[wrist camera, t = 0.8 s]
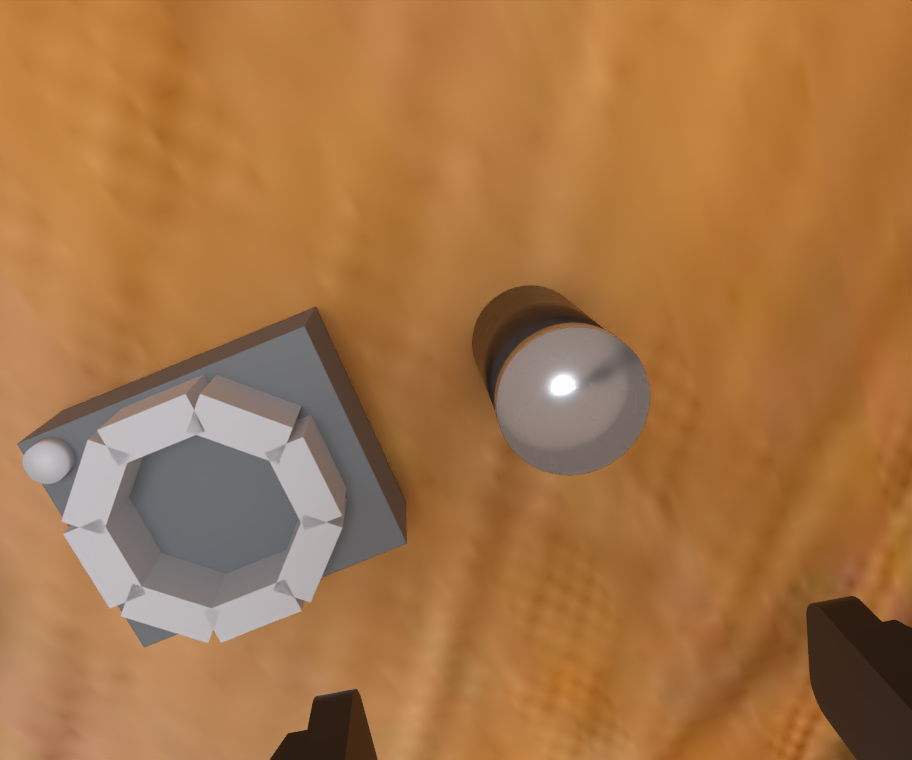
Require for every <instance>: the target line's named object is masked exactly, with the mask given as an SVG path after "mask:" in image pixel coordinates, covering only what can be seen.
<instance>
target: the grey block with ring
mask: <svg viewBox="0 0 912 760" xmlns="http://www.w3.org/2000/svg"><path fill="white" fill-rule="evenodd" d="M17 445H18V446H19V448H20V449H21V451H22V453H23V454H24V456H23V468H24V470H25V472H26V474H27V475H28V476H29V477H30V478H31V479H33V480H34V481H36V482H39V483H42V485H43V486H44V488H45V490H46V491H47V493H48V494H49V496H50V498H51V499H52V501H53V502H54V504H55V506H56V507H57V509H58V510H59V512H60V514H61V515H62V517H63V518H62V521H61V522H64V523H67V525H68V526H69V528H68V529H67V530H66V531H65V532H64V533H63V535H64V536H65V538H66V540H67V541H68V543H69V544H70V546H71V547H72V549H73V551H74V552H75V554H76V555H77V557H78V559H79V560H80V562H81V563H82V565H83V567H84V568H85V570H86V571H87V573H88V575H89V576H90V578H91V579H92V581H93V582H94V584H95V586H96V587H97V589H98V590H99V592H100V594H101V595H102V597H103V598H104V600H105V602H106V603H107V605H108V606H109V608H112V607H115V606H117V605H118V607H119V608H120V610H121V611H122V613H121V617H124V618H126V619H127V621H128V623H129V624H130V626H131V627H132V629H133V631H134V632H135V634H136V635H137V637H138V639H139V640H140V642H141V643H142V645H143V647H147V646H149V645H152V644H155V643H157V642H160V641H162V640H165V639H167V638H170V637H172V636H175V635H177V634H180V635H183V636H186V637H190V638H193V639H196V640H200V641H203V642H206V643H208V642H209V639H210V637H211V634H212V632H213V630H214V631H215V633H216V635H217V637H218V638H219V640H220V642H221V643H222V642H224V641H227V640H229V639H232V638H234V637H237V636H239V635H242V634H244V633H247V632H249V631H252V630H254V629H257V628H260V627H262V626H265V625H267V624H270V623H272V622H275V621H277V620H280V619H282V618H285V617H287V616H290V615H292V614H295V613H298V612H300V611H302V608H303V603H304V601H307V602H310V603H311V601H312V598H313V596H314V594H315V591H316V589H317V586H318V584H319V582H320V579H321V577H324V576H326V575H329V574H331V573H334V572H336V571H339V570H341V569H344V568H346V567H349V566H351V565H354V564H356V563H359V562H362V561H364V560H367V559H369V558H372V557H374V556H377V555H379V554H382V553H384V552H387V551H389V550H392V549H394V548H397V547H399V546H402V545H404V544H407V533H406V501H405V499H404V497H403V495H402V493H401V490H400V488H399V486H398V484H397V482H396V480H395V477H394V475H393V473H392V471H391V469H390V467H389V464H388V462H387V460H386V458H385V456H384V454H383V451H382V449H381V447H380V445H379V443H378V441H377V438H376V436H375V434H374V432H373V430H372V428H371V426H370V423H369V421H368V419H367V417H366V415H365V413H364V410H363V408H362V406H361V404H360V402H359V400H358V397H357V395H356V393H355V391H354V389H353V387H352V384H351V382H350V380H349V378H348V376H347V374H346V371H345V369H344V367H343V365H342V363H341V361H340V358H339V356H338V354H337V352H336V350H335V348H334V345H333V343H332V341H331V339H330V337H329V335H328V332H327V330H326V328H325V326H324V324H323V322H322V319H321V317H320V315H319V313H318V311H317V309H316V307H314V308H312V309H309V310H307V311H304V312H302V313H300V314H297V315H295V316H292V317H290V318H287V319H285V320H283V321H280V322H278V323H275V324H273V325H270V326H268V327H265V328H263V329H261V330H258V331H256V332H253V333H251V334H248V335H246V336H244V337H241V338H239V339H236V340H234V341H231V342H229V343H226V344H224V345H222V346H219V347H217V348H214V349H212V350H209V351H207V352H205V353H202V354H200V355H197V356H195V357H192V358H190V359H187V360H185V361H183V362H180V363H178V364H175V365H173V366H170V367H168V368H166V369H163V370H161V371H158V372H156V373H153V374H151V375H148V376H146V377H144V378H141V379H139V380H136V381H134V382H131V383H129V384H127V385H124V386H122V387H119V388H117V389H114V390H112V391H109V392H107V393H105V394H102V395H100V396H97V397H95V398H92V399H90V400H88V401H85V402H83V403H80V404H78V405H75V406H73V407H70V408H68V409H66V410H63V411H61V412H60V413H59V414H57V415H56V416H55V417H53V418H52V419H50V420H49V421H48V422H46V423H45V424H44V425H42V426H41V427H39V428H38V429H37V430H35V431H34V432H33V433H31V434H30V435H29V436H27V437H26V438H24V439H23V440H22V441H20V442H19V443H18V444H17Z"/></svg>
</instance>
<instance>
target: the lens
mask: <svg viewBox="0 0 912 760" xmlns="http://www.w3.org/2000/svg"><path fill="white" fill-rule="evenodd" d="M472 344H473V353H474V357H475V360H476V363H477V366H478V368H479V371H480V373H481V376H482V378H483V381H484V383H485V386H486V388H487V391H488V394H489V396H490V399H491V401H492V404H493V406H494V409H495V411H496V416H497V419H498V422H499V425H500V428H501V430H502V433H503V435H504V437H505V439H506V441H507V442H508V444H509V445H510V447H511V448H512V450H513V451H514V452H515V453H516V454H517V455H518V456H519V457H520V458H521V459H523V460H524V461H525V462H527V463H528V464H530V465H531V466H533V467H535V468H537V469H540V470H542V471H545V472H548V473H552V474H558V475H580V474H585V473H589V472H592V471H596V470H599V469H601V468H603V467H605V466H607V465H609V464H610V463H612V462H614V461H615V460H617V459H618V458H619V457H620V456H622V455H623V454H624V453H625V452H626V451H627V450H628V449H629V448H630V447H631V446H632V445H633V443H634V442H635V441H636V439H637V438H638V436H639V434H640V433H641V431H642V429H643V427H644V424H645V422H646V419H647V416H648V412H649V406H650V388H649V382H648V378H647V374H646V372H645V369H644V367H643V365H642V363H641V362H640V360H639V358H638V357H637V356H636V354H635V353H634V352H633V351H632V350H631V349H630V348H629V347H628V346H627V345H626V344H625V343H624V342H622V341H621V340H620V339H619V338H617V337H616V336H614V335H613V334H612V333H610V332H608V331H606V330H605V329H604V328H602V327H601V326H600V325H599V324H597V323H596V322H595V321H593V320H592V319H591V318H590V317H588V316H587V315H586V314H585V313H583V312H582V311H581V310H580V309H578V308H577V307H576V306H575V305H573V304H572V303H571V302H570V301H568V300H567V299H566V298H564V297H563V296H562V295H560V294H559V293H557V292H555V291H553V290H551V289H548V288H545V287H540V286H521V287H516V288H513V289H510V290H507V291H505V292H503V293H501V294H500V295H498V296H497V297H495V298H494V299H493V300H492V301H491V302H490V303H489V304H488V305H487V306H486V307H485V308H484V310H483V311H482V312H481V314H480V316H479V318H478V320H477V322H476V325H475V328H474V332H473V340H472Z"/></svg>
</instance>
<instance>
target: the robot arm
mask: <svg viewBox="0 0 912 760" xmlns="http://www.w3.org/2000/svg"><path fill="white" fill-rule="evenodd" d="M806 615H807V635H808V653H809V672H810V681H811V685H812V689H813V692H814V695H815V698H816V700H817V703H818V705H819V707H820V709H821V711H822V712H823V714H824V715H825V717H826V718H827V720H828V721H829V722H830V724H831V725H832V726H833V728H834V729H835V731H836V732H837V733H838V735H839V736H840V737H841V739H842V740H843V741H844V743H845V744H846V746H847V747H848V748H849V750H850V751H851V752H852V754H853V755H854V757H855V758H856V759H857V760H912V628H910V627H908V626H906V625H904V624H903V623H901V622H899V621H897V620H891V621H885V622H882V621H881V620H880V619H879V618H878V617H876V616H875V615H874V614H873V613H872V612H871V611H870V610H869V609H868V608H867V607H866V606H865V605H864V604H863V603H862V602H861V601H860V600H859V599H858V598H856V597H854V596H849V597H844V598H838V599H833V600H828V601H823V602H817V603H812V604H810V605H809V606H808V608H807V613H806ZM270 760H377V756H376V752H375V748H374V744H373V741H372V737H371V733H370V730H369V726H368V722H367V718H366V715H365V711H364V707H363V704H362V700H361V696H360V694H359V692H358V690H357V689H353V690H348V691H342V692H337V693H332V694H327V695H321V696H316V697H315V698H314V700H313V704H312V709H311V714H310V719H309V724H308V730H304V731H299V732H293V733H288V734H287V736H286V737H285V738H284V740H283V741H282V743H281V744H280V746H279V747H278V749H277V750H276V752H275V753H274V754H273V756H272V757H271V759H270Z"/></svg>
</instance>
